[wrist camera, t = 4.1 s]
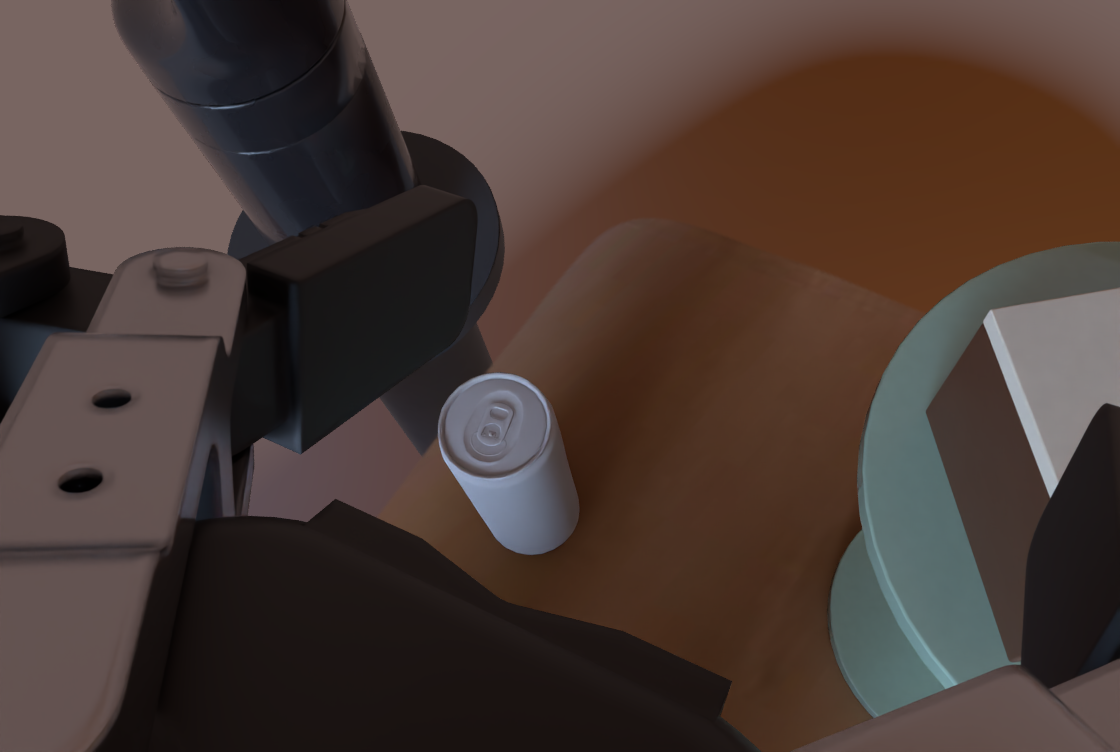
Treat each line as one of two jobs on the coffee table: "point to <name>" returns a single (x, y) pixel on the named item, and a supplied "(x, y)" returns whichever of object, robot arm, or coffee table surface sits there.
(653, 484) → the coffee table surface
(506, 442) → the beverage can
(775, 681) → the coffee table surface
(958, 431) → the cake
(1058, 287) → the cake stand
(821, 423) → the coffee table surface
